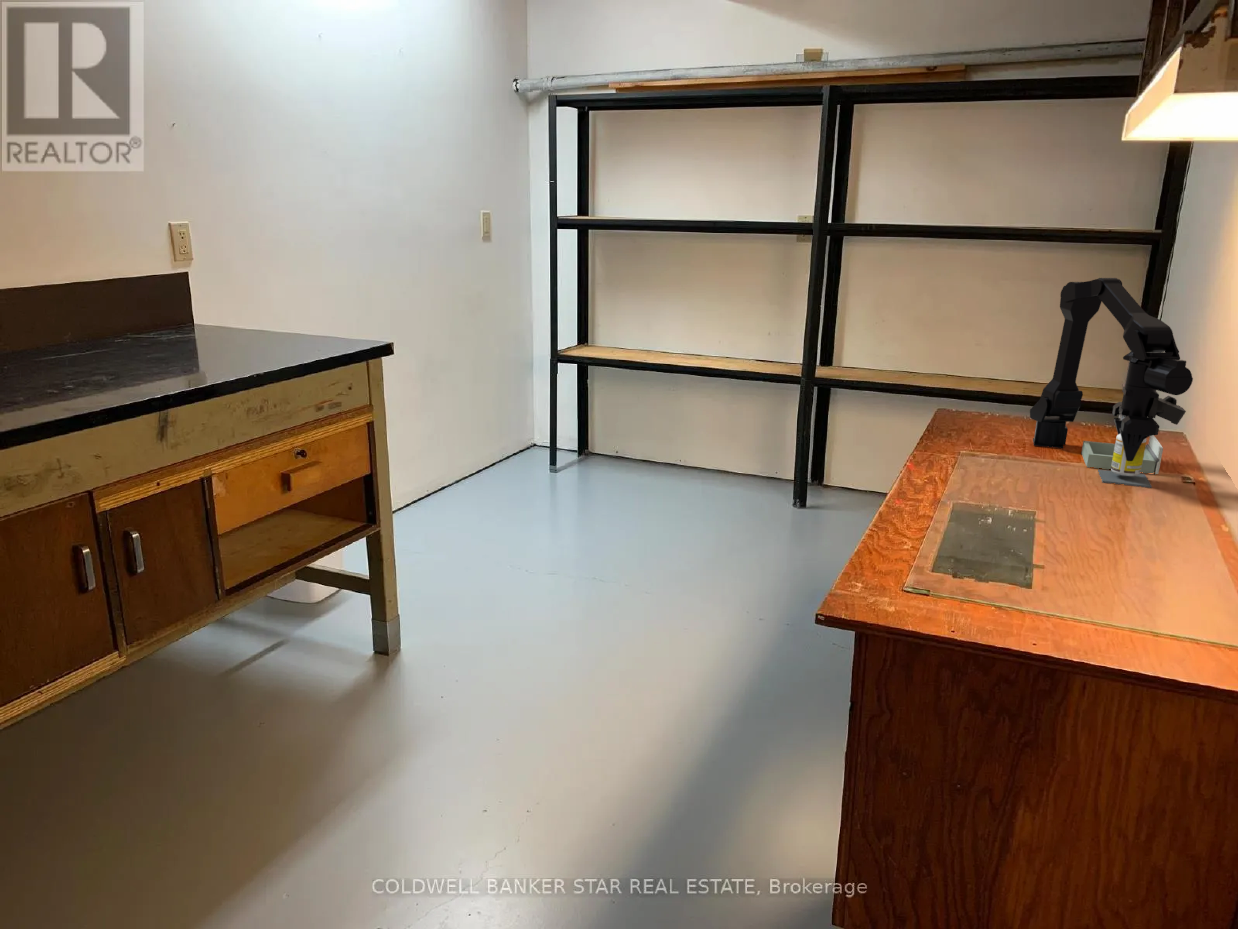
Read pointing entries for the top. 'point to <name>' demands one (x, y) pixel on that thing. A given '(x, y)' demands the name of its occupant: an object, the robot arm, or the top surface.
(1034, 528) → the top surface
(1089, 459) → the drawer
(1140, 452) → the supplement bottle
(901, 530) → the top surface
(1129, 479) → the mat
